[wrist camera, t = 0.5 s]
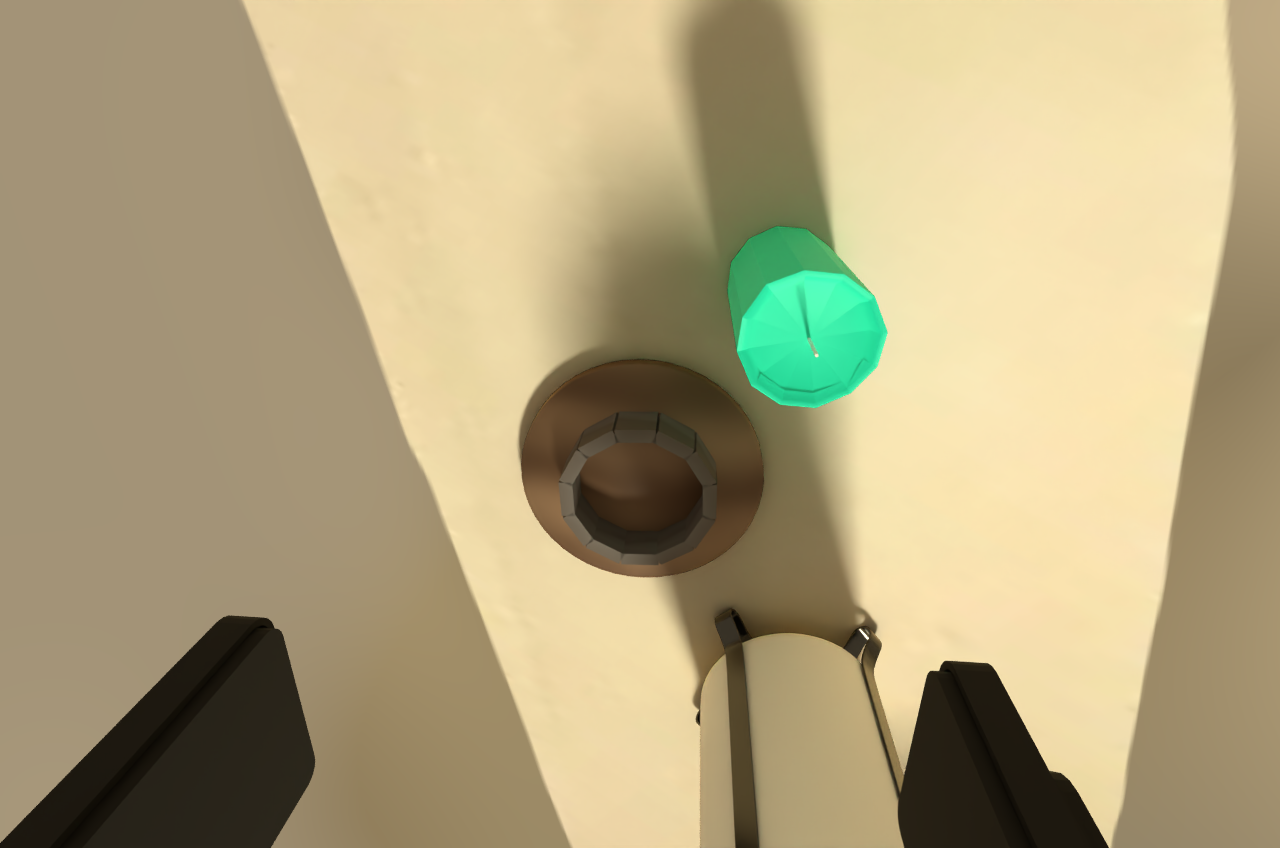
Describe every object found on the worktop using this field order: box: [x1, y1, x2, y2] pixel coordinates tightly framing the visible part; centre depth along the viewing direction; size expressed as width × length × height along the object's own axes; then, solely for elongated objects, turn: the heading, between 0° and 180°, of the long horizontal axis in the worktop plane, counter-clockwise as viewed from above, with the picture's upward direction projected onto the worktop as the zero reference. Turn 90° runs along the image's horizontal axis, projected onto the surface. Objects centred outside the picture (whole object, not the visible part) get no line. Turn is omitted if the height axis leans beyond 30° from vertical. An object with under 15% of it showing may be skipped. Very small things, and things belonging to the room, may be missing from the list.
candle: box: [727, 226, 888, 408], centre depth 32 cm, size 6×6×12 cm
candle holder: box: [521, 359, 764, 577], centre depth 41 cm, size 15×15×4 cm
